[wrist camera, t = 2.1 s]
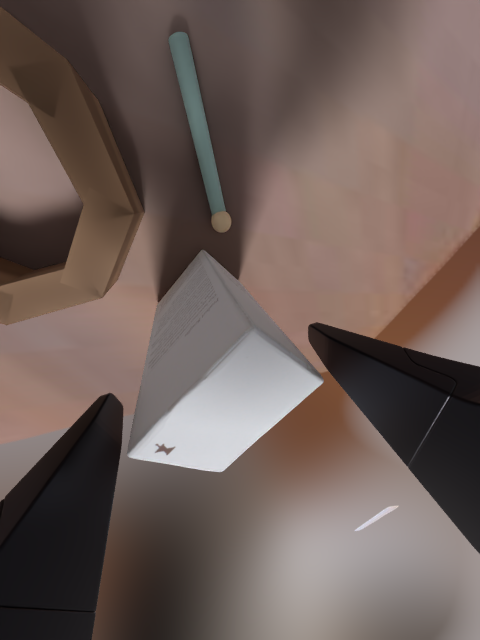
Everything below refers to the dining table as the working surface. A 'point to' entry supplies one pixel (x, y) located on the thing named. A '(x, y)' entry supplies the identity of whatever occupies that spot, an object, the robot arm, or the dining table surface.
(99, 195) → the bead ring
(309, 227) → the dining table surface
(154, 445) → the skincare box
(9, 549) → the robot arm
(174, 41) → the teal thin rod
